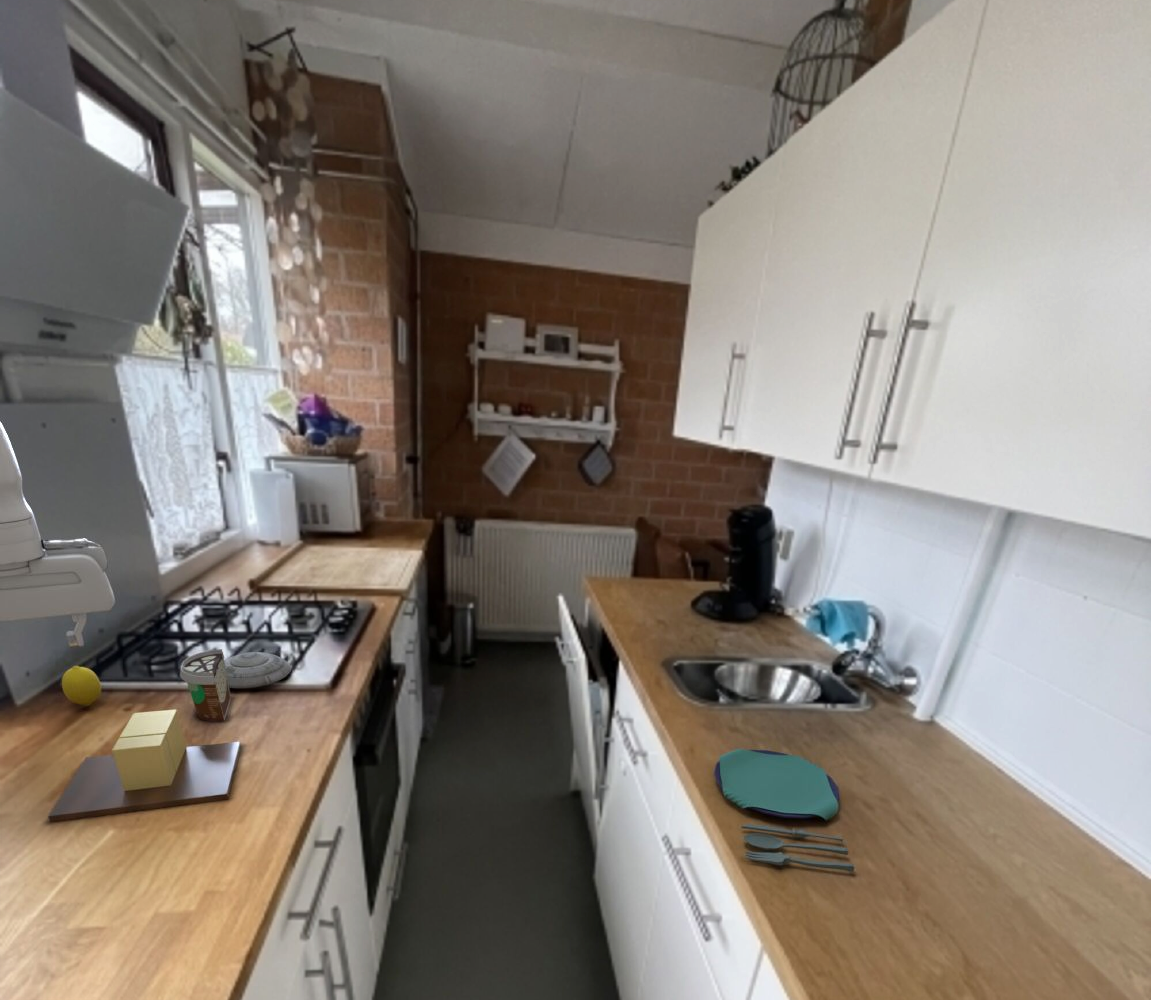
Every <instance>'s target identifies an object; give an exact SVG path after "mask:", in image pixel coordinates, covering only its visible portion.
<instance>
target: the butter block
mask: <svg viewBox="0 0 1151 1000" xmlns="http://www.w3.org/2000/svg"><path fill="white" fill-rule="evenodd" d="M179 715H180V714H179V711H178V709H177V708H176V709H165V710H153V711H142V712H141V711H140V712H133V714H132V715H131V717H130V719H129V720H128V722H127V724H126V726H125V727H124V729H123V730H122V732H121V734H120V736H119V738H129V737H140V736H150V735H160V734H166V738H167V742H168V746H169V749H170V753H171V757H172V761H173V764H174V768H175V772H177V769H178V767H179V764H180V762H181V759H182V757H183V754H184V752H185V749H186V747H187V743H186V740H185V736H184V731H183V727H182V723H181V719H180V716H179ZM119 738H118V739H119Z"/></svg>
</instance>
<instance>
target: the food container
mask: <svg viewBox="0 0 1151 1000" xmlns="http://www.w3.org/2000/svg"><path fill="white" fill-rule="evenodd" d="M224 660H225V655H224V651H223V649H222V648H220V649H219V648H217V649H210V650H206V651H202V652H198V653H195V654H193V655H190V656H188V657H187V658H185V659H184V660H183V661H182V663H181V666H180V679H182V681H184V682H186V683H187V686H188V689H189V693H190V695H191V696H190V697H191V698H192V702H193V705H194V707H195V711H196V715H197V716H198V718H200V719H201V720H204V721H209V722H225V721H226V717H227V714H228V711H229V707H230V704H231V702H232V701H231V700H232V696H231V691H230V688H229V685H228V679H227V674H226V668H225V663H224Z"/></svg>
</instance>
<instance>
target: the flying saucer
mask: <svg viewBox="0 0 1151 1000" xmlns="http://www.w3.org/2000/svg"><path fill="white" fill-rule="evenodd" d="M224 663H225V668H226V674H227V679H228V685H229V689H251V688H252V689H253V688H259V687H264V686H267V685H271V684H274V683H277V682H279V681H281V680H283V679H284V678H286V677H287V676H288V675H289V674H290V673H291V671H292V666H291V665H290V663H289V662H288V661H287V660H285V659H284V658H282V657H281V656H278V655H276V654H273V653H269V652H263V651H249V652H242V653H238V654H235V655H232V656H230V657H228V658H225V659H224Z"/></svg>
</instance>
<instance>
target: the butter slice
mask: <svg viewBox="0 0 1151 1000" xmlns="http://www.w3.org/2000/svg"><path fill="white" fill-rule="evenodd" d="M111 752H112V755H113V756H114V759H115V762H116V765H117V768H118V772H119V775H120V778H121V781H122V784H123V788H124V791H129V790H138V789H146V788H154V787H163V786H171V784H172V782H173V779H174V777H175V774H176V772H175V768H174V764H173V761H172V757H171V753H170V749H169V746H168V742H167V738H166V734H160V735H150V736H140V737H129V738H118V739H117V741H116V742H115V744H114V746H113V747H112V749H111Z"/></svg>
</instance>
